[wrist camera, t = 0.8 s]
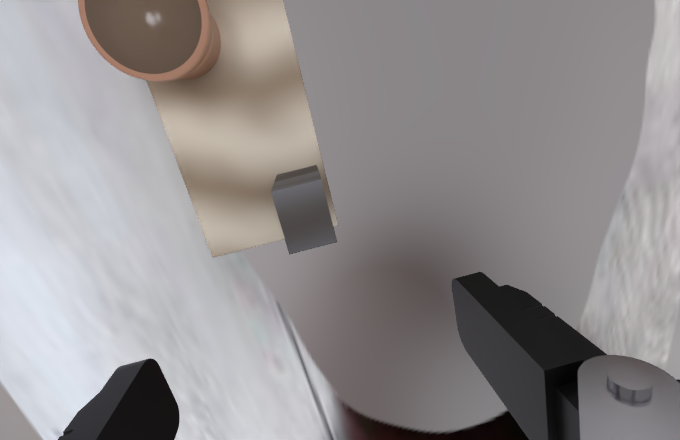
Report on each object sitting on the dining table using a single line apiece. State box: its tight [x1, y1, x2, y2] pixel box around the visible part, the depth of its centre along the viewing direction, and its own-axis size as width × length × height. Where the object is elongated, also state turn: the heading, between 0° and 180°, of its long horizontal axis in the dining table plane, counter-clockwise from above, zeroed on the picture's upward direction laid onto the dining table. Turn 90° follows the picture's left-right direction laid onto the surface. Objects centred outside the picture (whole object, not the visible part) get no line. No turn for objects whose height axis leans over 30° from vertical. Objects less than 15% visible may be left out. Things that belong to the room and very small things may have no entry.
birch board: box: [147, 0, 338, 257], centre depth 21 cm, size 24×10×7 cm, turn 13°
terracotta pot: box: [78, 0, 221, 82], centre depth 20 cm, size 6×6×6 cm
